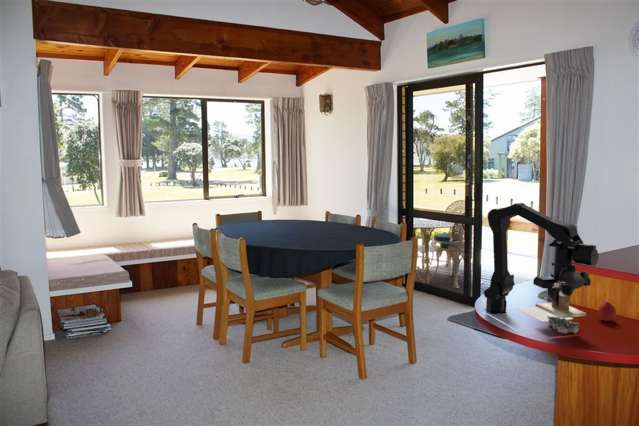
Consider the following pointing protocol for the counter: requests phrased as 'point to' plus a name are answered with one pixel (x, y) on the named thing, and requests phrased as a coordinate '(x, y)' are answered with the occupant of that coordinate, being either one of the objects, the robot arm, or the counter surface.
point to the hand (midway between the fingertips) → (560, 305)
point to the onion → (607, 311)
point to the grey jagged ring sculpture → (559, 325)
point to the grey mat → (539, 313)
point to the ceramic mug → (547, 293)
